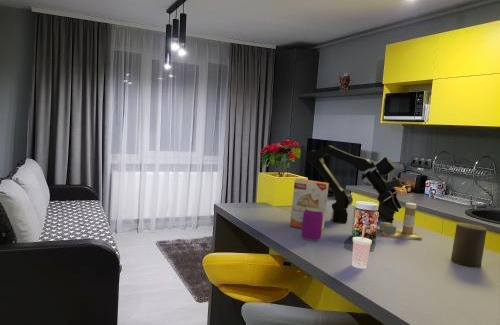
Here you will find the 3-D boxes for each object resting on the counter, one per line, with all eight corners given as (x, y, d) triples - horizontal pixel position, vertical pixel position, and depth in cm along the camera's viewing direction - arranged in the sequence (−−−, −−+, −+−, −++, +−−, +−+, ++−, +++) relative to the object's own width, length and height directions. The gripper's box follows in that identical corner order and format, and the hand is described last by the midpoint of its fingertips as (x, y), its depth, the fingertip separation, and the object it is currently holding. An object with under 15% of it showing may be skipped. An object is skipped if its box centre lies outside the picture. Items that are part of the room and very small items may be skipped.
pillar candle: (470, 268, 138) (476, 226, 136) (445, 259, 146) (451, 219, 145) (487, 266, 142) (493, 225, 141) (461, 257, 151) (467, 218, 149)
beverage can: (298, 238, 157) (301, 208, 155) (304, 234, 163) (307, 205, 162) (316, 242, 153) (320, 212, 152) (323, 238, 160) (326, 209, 159)
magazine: (379, 213, 212) (389, 190, 205) (390, 229, 201) (400, 206, 193) (373, 212, 211) (382, 189, 204) (383, 229, 200) (393, 205, 193)
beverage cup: (365, 271, 127) (370, 228, 125) (347, 266, 130) (351, 224, 129) (371, 266, 132) (376, 224, 131) (352, 261, 135) (357, 221, 134)
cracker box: (289, 226, 174) (294, 179, 172) (293, 223, 180) (297, 178, 177) (321, 232, 169) (326, 183, 167) (324, 229, 174) (329, 182, 172)
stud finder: (383, 232, 173) (384, 225, 173) (379, 228, 180) (380, 221, 180) (395, 233, 173) (396, 226, 173) (390, 229, 180) (391, 222, 180)
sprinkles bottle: (404, 231, 179) (408, 201, 178) (414, 233, 176) (418, 204, 175) (400, 232, 176) (403, 202, 175) (410, 235, 173) (414, 204, 172)
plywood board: (384, 236, 171) (384, 234, 171) (376, 229, 183) (376, 227, 183) (421, 240, 170) (422, 237, 170) (411, 232, 182) (411, 230, 182)
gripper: (389, 172, 170) (412, 202, 166) (395, 169, 186) (416, 197, 183) (367, 187, 174) (390, 217, 171) (375, 183, 191) (396, 210, 187)
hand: (399, 210), depth 178 cm, fingers open, 9 cm apart
